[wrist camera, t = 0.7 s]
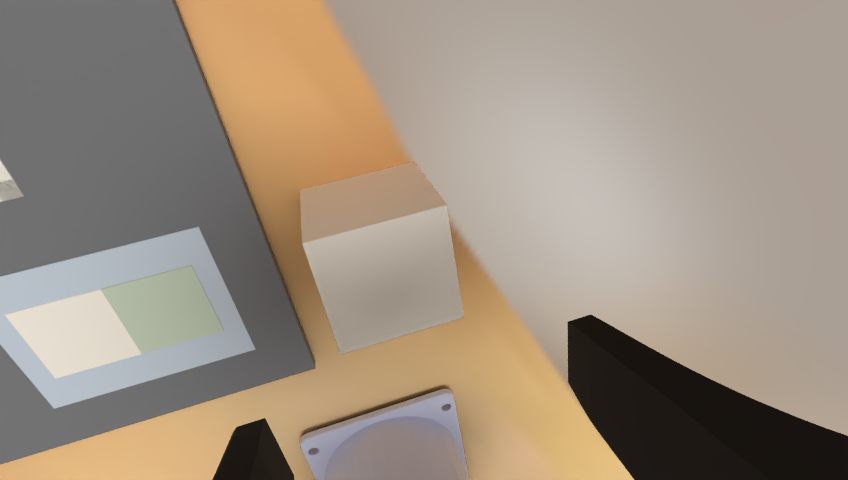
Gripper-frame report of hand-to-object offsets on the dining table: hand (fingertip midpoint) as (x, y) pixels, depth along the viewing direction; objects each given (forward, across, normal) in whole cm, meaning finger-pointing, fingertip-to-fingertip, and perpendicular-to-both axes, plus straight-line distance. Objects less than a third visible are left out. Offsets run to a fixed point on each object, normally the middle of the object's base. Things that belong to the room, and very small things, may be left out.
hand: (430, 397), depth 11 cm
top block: (+10, 0, 0) cm, 10 cm away
